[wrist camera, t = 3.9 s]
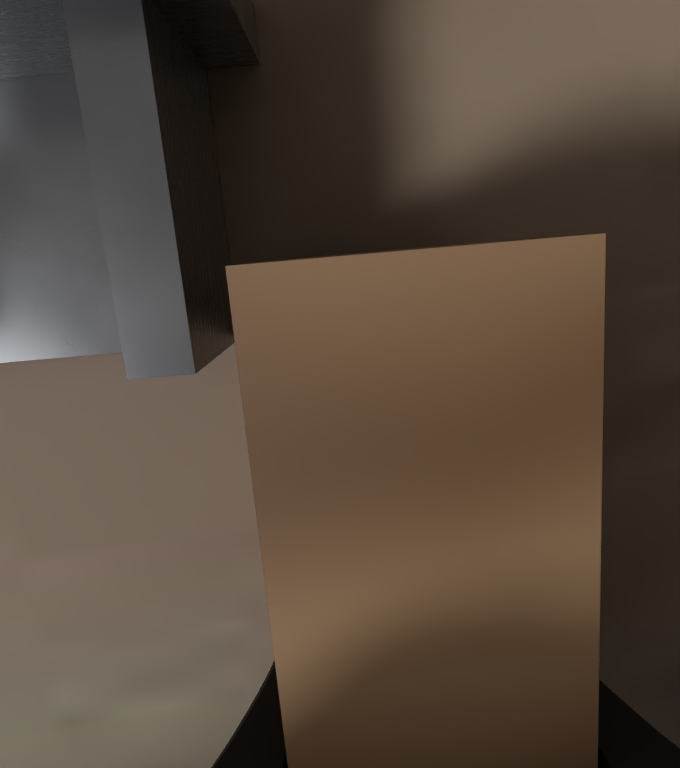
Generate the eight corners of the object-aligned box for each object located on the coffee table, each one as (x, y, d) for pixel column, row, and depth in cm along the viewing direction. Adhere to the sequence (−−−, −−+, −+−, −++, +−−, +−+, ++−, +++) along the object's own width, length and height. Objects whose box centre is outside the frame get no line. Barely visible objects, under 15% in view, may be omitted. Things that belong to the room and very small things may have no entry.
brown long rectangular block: (506, 917, 14) (590, 1268, 9) (350, 926, 14) (351, 1275, 9) (488, 241, 11) (605, 233, 6) (280, 259, 11) (224, 265, 6)
